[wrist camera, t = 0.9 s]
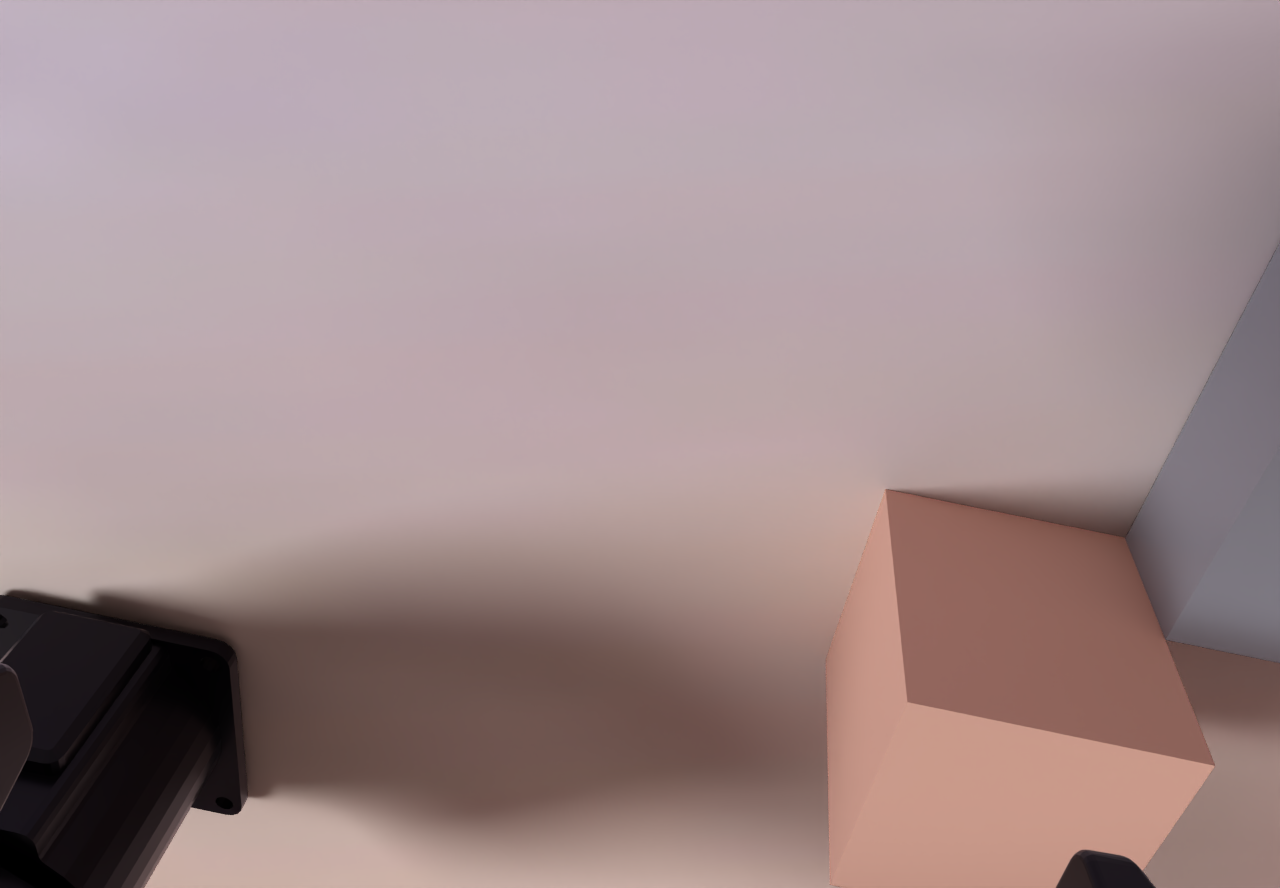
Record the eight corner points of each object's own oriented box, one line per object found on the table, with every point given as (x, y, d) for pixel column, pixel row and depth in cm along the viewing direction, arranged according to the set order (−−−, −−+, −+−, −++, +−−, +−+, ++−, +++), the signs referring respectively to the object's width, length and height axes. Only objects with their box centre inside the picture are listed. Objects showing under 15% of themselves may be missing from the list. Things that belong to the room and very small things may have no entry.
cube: (1037, 701, 25) (1094, 940, 20) (825, 658, 25) (829, 884, 20) (1124, 536, 22) (1215, 765, 17) (885, 487, 22) (907, 701, 17)
